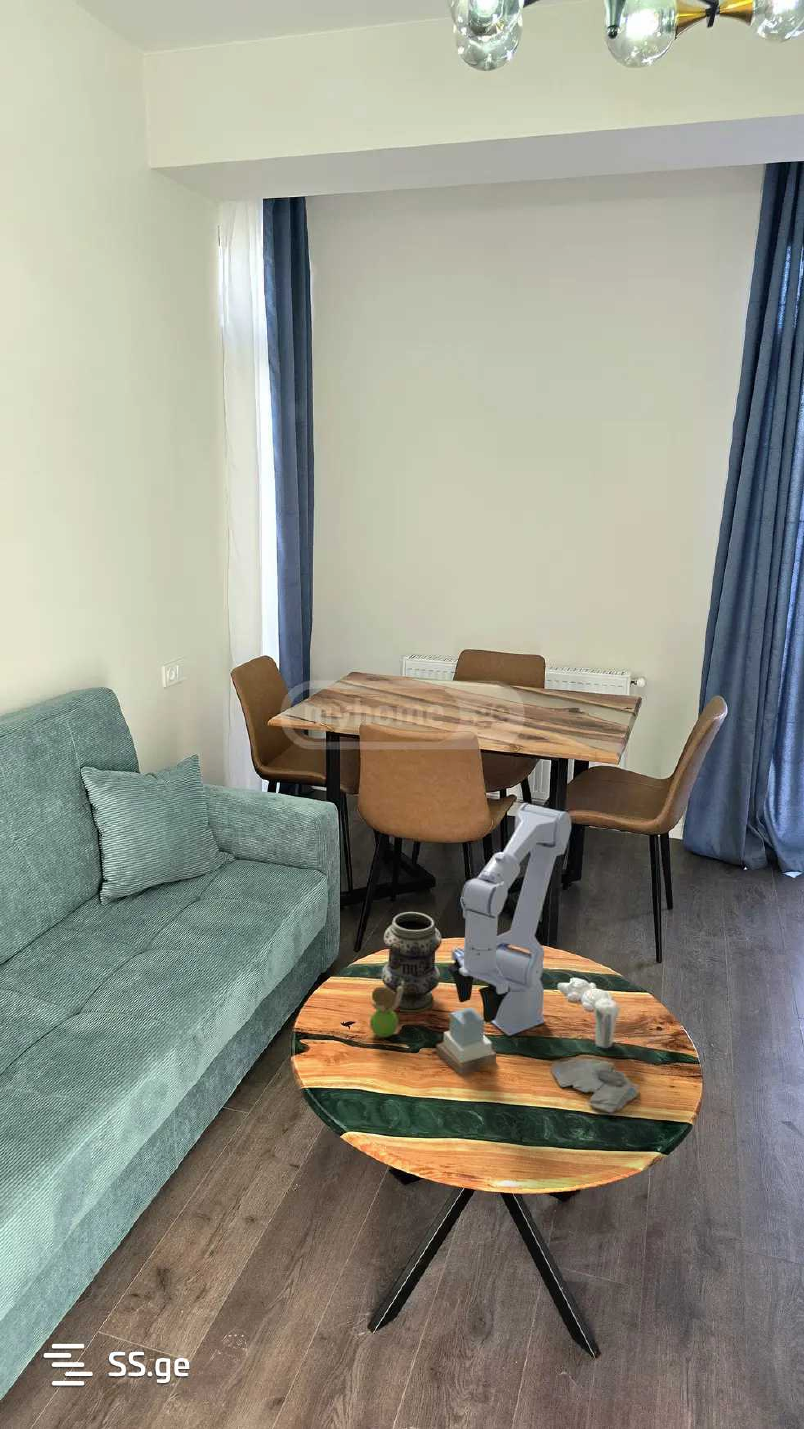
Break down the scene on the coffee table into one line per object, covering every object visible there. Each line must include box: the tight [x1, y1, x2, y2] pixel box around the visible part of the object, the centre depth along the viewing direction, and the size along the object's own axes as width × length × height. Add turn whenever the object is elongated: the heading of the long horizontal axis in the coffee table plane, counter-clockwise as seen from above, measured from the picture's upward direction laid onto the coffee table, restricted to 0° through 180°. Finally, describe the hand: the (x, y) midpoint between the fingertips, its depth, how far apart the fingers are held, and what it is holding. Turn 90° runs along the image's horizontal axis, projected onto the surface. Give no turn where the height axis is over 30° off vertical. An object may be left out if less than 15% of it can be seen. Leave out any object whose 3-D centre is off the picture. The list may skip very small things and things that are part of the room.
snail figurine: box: [369, 981, 404, 1038], centre depth 183 cm, size 5×6×12 cm
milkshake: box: [592, 998, 620, 1049], centre depth 183 cm, size 4×5×10 cm
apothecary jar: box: [380, 911, 443, 1014], centre depth 195 cm, size 12×12×18 cm
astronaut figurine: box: [557, 977, 613, 1012], centre depth 200 cm, size 9×12×3 cm
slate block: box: [449, 1006, 485, 1047], centre depth 177 cm, size 4×4×4 cm
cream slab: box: [442, 1030, 493, 1063], centre depth 178 cm, size 6×6×2 cm
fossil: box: [550, 1057, 639, 1113], centre depth 172 cm, size 17×11×2 cm
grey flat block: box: [435, 1041, 497, 1077], centre depth 178 cm, size 8×8×2 cm
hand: (476, 1010), depth 175 cm, fingers open, 7 cm apart
